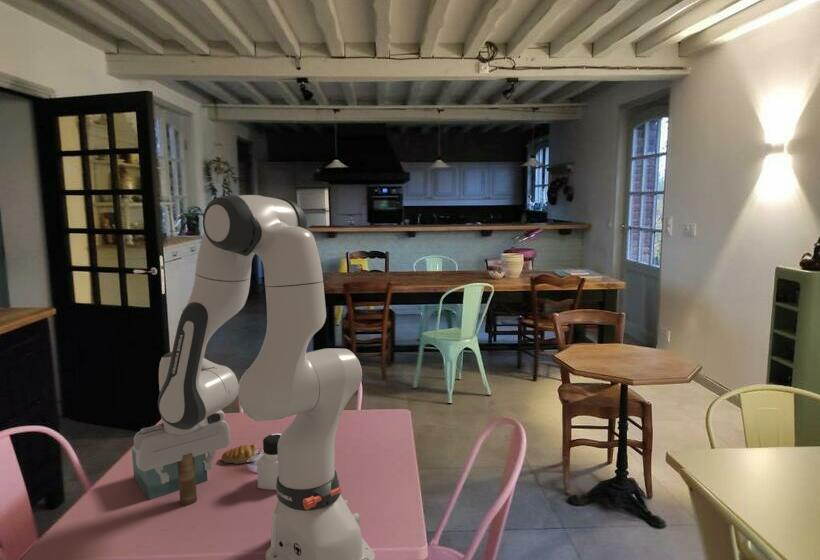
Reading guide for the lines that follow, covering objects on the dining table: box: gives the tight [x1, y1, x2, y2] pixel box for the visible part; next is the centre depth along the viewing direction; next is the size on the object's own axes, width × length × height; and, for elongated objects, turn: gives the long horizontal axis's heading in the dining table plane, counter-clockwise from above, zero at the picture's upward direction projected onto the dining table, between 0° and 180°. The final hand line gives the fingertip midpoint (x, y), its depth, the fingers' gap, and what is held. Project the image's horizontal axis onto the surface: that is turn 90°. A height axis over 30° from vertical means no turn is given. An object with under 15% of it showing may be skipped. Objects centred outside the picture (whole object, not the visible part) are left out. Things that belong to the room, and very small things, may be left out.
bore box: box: [131, 446, 208, 501], centre depth 135 cm, size 14×14×8 cm
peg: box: [177, 453, 198, 506], centre depth 124 cm, size 4×4×12 cm
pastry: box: [221, 443, 259, 465], centre depth 146 cm, size 9×7×4 cm
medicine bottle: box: [256, 433, 282, 491], centre depth 132 cm, size 7×7×12 cm
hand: (186, 475), depth 125 cm, fingers open, 8 cm apart
